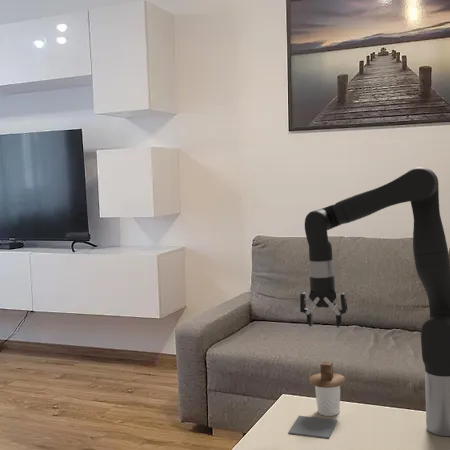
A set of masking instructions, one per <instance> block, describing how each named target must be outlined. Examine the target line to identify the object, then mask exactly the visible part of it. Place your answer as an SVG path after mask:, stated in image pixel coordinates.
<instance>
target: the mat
mask: <svg viewBox="0 0 450 450" xmlns="http://www.w3.org/2000/svg"><path fill="white" fill-rule="evenodd" d="M338 421H339V420H338V419H334V418H333V419H332V418H324V417H316V416H314V417H313V416H308V415H307V416H306V415H298V417H297V418H296V419H295V421H294V423H293V425H292V426H291V427H290V429H289V431H288V432H287V434H288V435H297V436H306V437H313V438H320V439H321V438H323V439H330V437H331V435H332V434H333V431H334V430H335V427H336V425H337V423H338Z"/></svg>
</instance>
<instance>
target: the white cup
mask: <svg viewBox="0 0 450 450" xmlns="http://www.w3.org/2000/svg"><path fill="white" fill-rule="evenodd" d="M314 388H315V399H316V407H317V412H318V414H320V416H325V417H334V416H337V415H338V414H340V410H341V408H340V406H341V404H340V403H341V386H338V387H332V388H323V387H317V386H314Z"/></svg>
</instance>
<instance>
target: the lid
mask: <svg viewBox="0 0 450 450" xmlns="http://www.w3.org/2000/svg"><path fill="white" fill-rule="evenodd" d="M333 363H334V361H326V360H322V362H320V372H319V373H315V374H313V375H310V377H309V383H310V385H312V386H314V387H315V386H317V387H323V388H332V387H338V386H340V387H341V386H343V385H345V383H346V378H345V376H344V375H342V374H340V373H335V372H334V364H333Z"/></svg>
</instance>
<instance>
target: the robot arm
mask: <svg viewBox="0 0 450 450" xmlns="http://www.w3.org/2000/svg"><path fill="white" fill-rule="evenodd" d="M439 195H440V191H439V179H438V176H437V175H436V173H435V172H434V171H433V170H431V169H429V168H427V167H422V166H421V167H419V166H418V167H414V168H411V169H409V170H408V171H407V172H405V173H403V174H402V175H401V176H399V177H397V178H395V179H394V180H392V181H389V182H388V183H386V184H383V185H380V186H378V187H377V188H376V187H375V188H373V189H370V190H367V191H364V192H361V193H358V194H354V195H352V196H350V197H346V198H345V199H341V200H340V201H338V202H336V203H334V204H332V205H328V206H326V207H322V208H318V209H315V210H313V211H310V212H309V213H307V215H306V216H305V218H304V232H305V236H306V240H307V243H308V244H307V245H308V257H309V261H308V262H309V264H308V275H309V289H310V290H309V291H310V292H309V293H308V292H305V291H304V292H301V293H300V296H299V298H300V300H299V305H300V306H299V312H301V313H304V314H305V315H306V324H307V325H308V326H309V327H312V326H313V325H314V323H313V321H314V319H313V313H312V312H313V311H314V309H315V307H317V308H330V309H331V310H332V311H333V312H334V313H335V314H336V315H335V322H336V323H335V324H336V327H337V328H340V326H342V323H343V317H342V314H343V315H344V314H346V313H347V312H348V302H347V294H346V292H342V293H336V286H335V283H336V282H335V281H336V280H335V266H334V261H333V247H332V243H331V242H330V241H329V238H328V231H329V230H332V229H334V228H337V227H339V226H342V225H346V224H349V223H351V222H355V221H357V220H360V219H363V218H366V217H368V216H371V215H373V214H375V213H377V212H379V211H381V210H384V209H385V208H389V207H392V206H395V205H398V204H403V203H408V202H410V205H411V209H412V210H411V211H412V214H413V215H412V216H413V217H412V218H413V229H412V230H413V231H412V253H413V257H414V258H413V259H414V264H415V270H416V274H417V275H418V277H419V280H420V282H421V285H422V286H423V288H424V291H425V292H426V296H427V299H428V308H429V319H427V320H425V322H424V323H423V324H422V326H421V330H420V342H421V344H420V345H421V356H422V357H421V358H422V362H423V364H424V384H425V385H424V386H425V416H426V417H425V423H426V424H425V425H426V430H427V431H428V432H430V433H431V434H433V435H436V436H441V437H442V436H443V437H450V257H449V256H450V255H449V249H448V243H447V238H446V234H445V230H444V229H445V228H444V225H443V222H442V217H441V212H440V210H441V209H440V199H439ZM308 299H310V301H311V303H310V305H309V307H308V308H307V300H308ZM336 299H338V301H340V305H341V308H340V307H339V306H338V304H337V302H336Z"/></svg>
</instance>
